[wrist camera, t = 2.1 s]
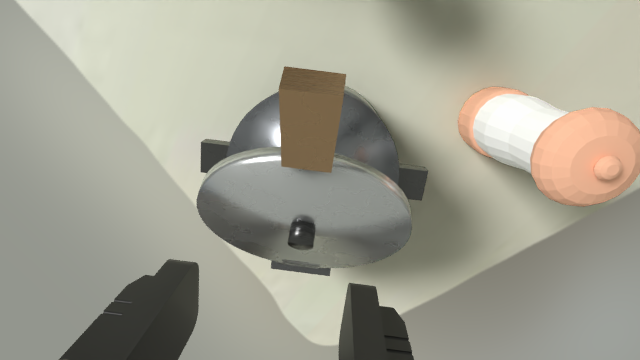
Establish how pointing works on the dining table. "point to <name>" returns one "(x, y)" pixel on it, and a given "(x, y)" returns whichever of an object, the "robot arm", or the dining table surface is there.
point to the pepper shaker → (554, 144)
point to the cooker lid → (306, 188)
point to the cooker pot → (352, 141)
